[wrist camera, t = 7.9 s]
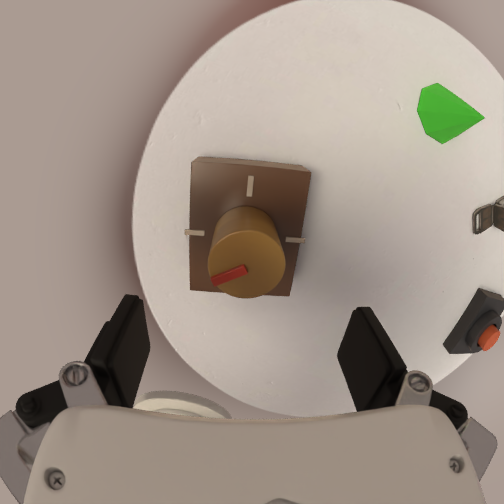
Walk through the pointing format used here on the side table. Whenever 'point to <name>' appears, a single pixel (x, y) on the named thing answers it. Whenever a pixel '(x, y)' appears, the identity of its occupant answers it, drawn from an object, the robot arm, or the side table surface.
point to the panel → (245, 194)
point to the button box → (475, 322)
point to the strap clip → (490, 216)
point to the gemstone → (445, 113)
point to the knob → (246, 253)
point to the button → (489, 337)
